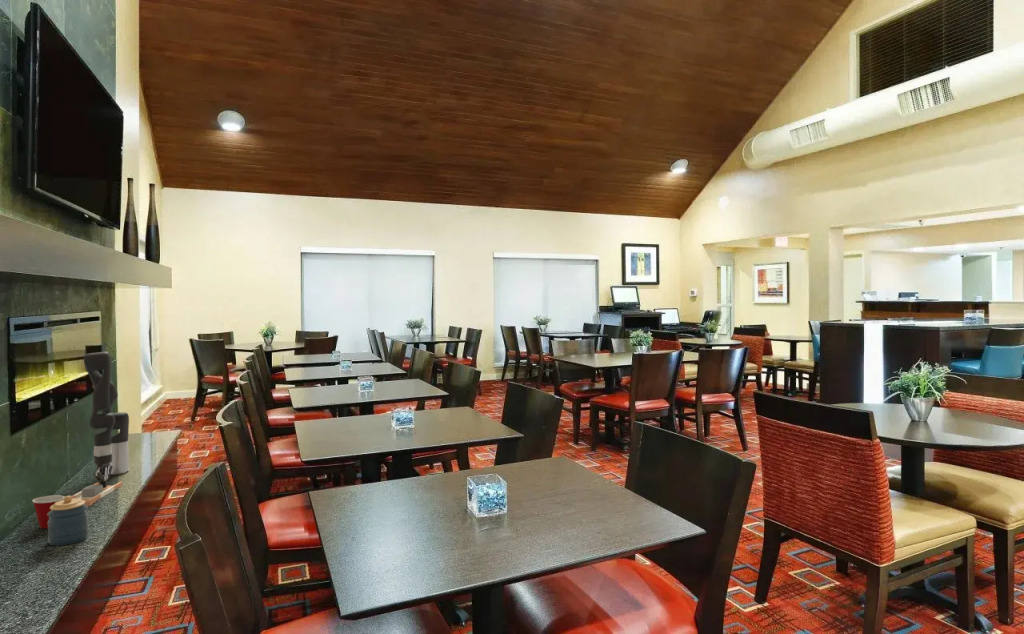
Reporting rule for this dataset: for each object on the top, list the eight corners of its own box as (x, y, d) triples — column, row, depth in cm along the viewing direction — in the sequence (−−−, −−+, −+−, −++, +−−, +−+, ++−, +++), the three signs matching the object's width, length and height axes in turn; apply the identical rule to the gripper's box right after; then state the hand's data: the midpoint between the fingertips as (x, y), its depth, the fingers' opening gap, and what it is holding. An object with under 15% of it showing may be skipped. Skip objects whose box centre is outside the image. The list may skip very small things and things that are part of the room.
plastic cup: (71, 523, 249) (70, 495, 249) (41, 532, 239) (41, 503, 239) (56, 519, 253) (55, 492, 253) (27, 528, 244) (26, 499, 243)
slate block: (89, 493, 286) (89, 485, 286) (102, 492, 287) (102, 484, 287) (81, 497, 280) (81, 489, 280) (95, 497, 281) (95, 488, 281)
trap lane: (97, 487, 297) (97, 482, 297) (122, 486, 299) (122, 481, 299) (61, 507, 269) (61, 501, 269) (89, 505, 270) (89, 500, 270)
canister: (65, 533, 239) (64, 490, 238) (96, 533, 238) (95, 490, 238) (39, 546, 226) (38, 501, 225) (71, 546, 225) (70, 501, 225)
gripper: (102, 450, 299) (103, 483, 299) (87, 457, 286) (87, 492, 286) (118, 449, 300) (118, 483, 300) (103, 456, 287) (104, 491, 287)
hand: (103, 487), depth 293 cm, fingers closed
